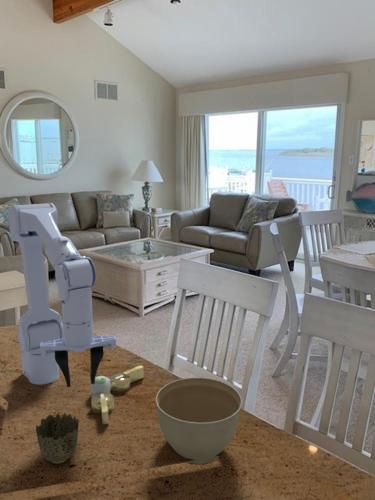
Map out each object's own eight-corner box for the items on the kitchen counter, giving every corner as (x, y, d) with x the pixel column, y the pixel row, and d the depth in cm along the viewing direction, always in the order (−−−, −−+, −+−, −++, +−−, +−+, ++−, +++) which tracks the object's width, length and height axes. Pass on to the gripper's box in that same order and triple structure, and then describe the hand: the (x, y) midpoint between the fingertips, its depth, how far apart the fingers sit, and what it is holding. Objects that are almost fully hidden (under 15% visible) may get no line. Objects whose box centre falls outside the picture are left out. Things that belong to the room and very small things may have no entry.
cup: (69, 480, 80) (67, 439, 78) (30, 474, 81) (27, 433, 80) (87, 453, 87) (85, 415, 85) (51, 448, 89) (48, 410, 87)
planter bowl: (162, 484, 79) (162, 427, 77) (151, 429, 95) (150, 381, 92) (252, 472, 82) (254, 417, 80) (227, 421, 98) (228, 374, 95)
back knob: (118, 394, 106) (117, 382, 105) (105, 386, 109) (105, 375, 109) (148, 380, 112) (148, 369, 112) (136, 373, 116) (135, 362, 115)
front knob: (90, 403, 102) (90, 391, 101) (112, 400, 103) (112, 388, 102) (93, 426, 93) (93, 413, 93) (117, 423, 94) (117, 410, 94)
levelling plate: (48, 400, 106) (47, 376, 104) (109, 375, 117) (108, 354, 116) (90, 431, 94) (89, 405, 93) (153, 400, 106) (153, 377, 105)
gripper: (38, 330, 85) (42, 397, 88) (117, 323, 89) (118, 388, 91) (39, 317, 91) (43, 380, 94) (113, 311, 95) (115, 372, 98)
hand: (80, 383), depth 93 cm, fingers open, 4 cm apart
